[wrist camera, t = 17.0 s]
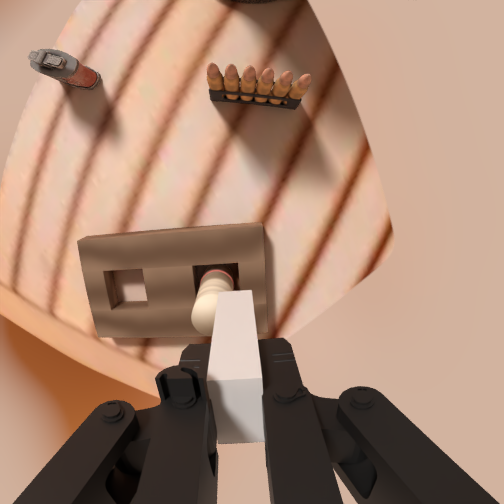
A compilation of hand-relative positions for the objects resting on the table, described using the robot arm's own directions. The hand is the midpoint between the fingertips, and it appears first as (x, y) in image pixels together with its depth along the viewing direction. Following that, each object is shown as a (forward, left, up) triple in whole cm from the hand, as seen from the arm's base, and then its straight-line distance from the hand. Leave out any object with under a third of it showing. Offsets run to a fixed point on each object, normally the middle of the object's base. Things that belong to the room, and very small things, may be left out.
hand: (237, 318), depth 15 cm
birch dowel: (+7, -3, -26) cm, 27 cm away
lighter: (-23, -21, -27) cm, 41 cm away
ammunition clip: (-16, +3, -27) cm, 31 cm away
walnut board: (+7, -9, -26) cm, 29 cm away
